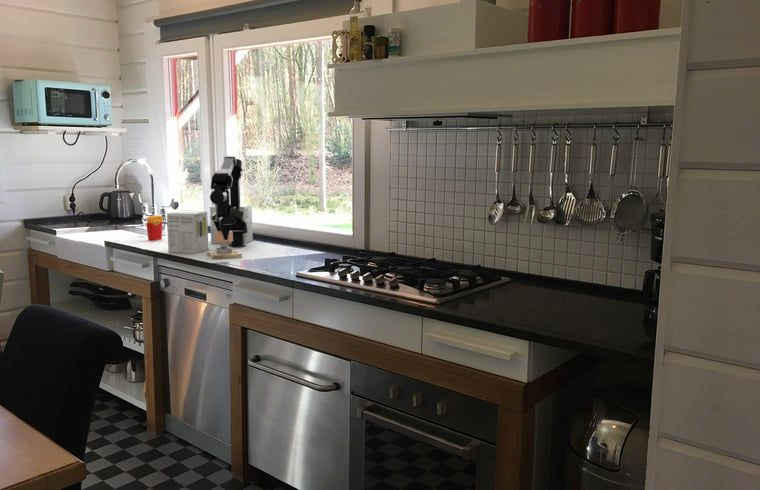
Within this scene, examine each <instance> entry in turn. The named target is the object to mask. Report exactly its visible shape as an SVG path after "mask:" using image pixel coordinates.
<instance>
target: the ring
mask: <svg viewBox="0 0 760 490" xmlns="http://www.w3.org/2000/svg"><path fill="white" fill-rule="evenodd" d="M215 241H216V242H231V241H233V232H232V231H229V235H228V239H227V240H224V237H223V235H222V232H221V231H216V232H215Z"/></svg>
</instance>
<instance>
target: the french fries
mask: <svg viewBox="0 0 760 490" xmlns="http://www.w3.org/2000/svg"><path fill="white" fill-rule="evenodd" d="M163 219H164V218H163V216H161V215H158V214H157V215H151V216H147V217H146V223H145V225H146V232H147V233H146V234H147V239H148V241H151V242H153V241H161V240H162V238H163V237H162V236H163Z"/></svg>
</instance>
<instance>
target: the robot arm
mask: <svg viewBox="0 0 760 490" xmlns="http://www.w3.org/2000/svg"><path fill="white" fill-rule="evenodd" d="M244 170H245V165H244V162H243V161H242V160H241V159H239V158H237V157H236V156H234V155H226V156H223V162H222V164H221V166H220V169H217V170H215V171H214V173H213V174H212V176H211V183H210V189H211V190H213V191H212V192H210V195H209V199H210V202H211V203H212V204H214V205H215V207H216V213H213V214H212V216H211V217H212V220H215V221H213V223H214V225H215V227H216V229H217V231H221V232H222V235H223V237H224V240H227V239H228V235H229V231H230V230H244V231H232V232H233V241H231V244H228V246H229V247H232V248H237V247H246V246H247V245H246V244H244V240H243V233H244V234H245V233H248V230H247V224H246V222H245V221H244V216H243V214H244V212H242V211H240V205H241V191H240V190H241V188H240V185H241V184H240V181H241V177H242V176H243V175H244V174H243V173H244Z"/></svg>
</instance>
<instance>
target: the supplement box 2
mask: <svg viewBox="0 0 760 490" xmlns="http://www.w3.org/2000/svg"><path fill="white" fill-rule="evenodd" d="M252 207H253V205H252V204H240V211H242V212H244V214H243V216H244V221H245V222H246V224H247V230H248V233H245V234H244V233H243V240H244V244H245V245H246V244H247V243H249V242H252V241H253V240H254V236H253V212H252V211H253V208H252ZM213 213H216V207H215V204H214V205H210V206H209V215H210V216H209V217H210V218H209V219H210V243H211V244H221V242H216V241H215V232H216V231H217V229H216V227H215V225H214V223H213V221H215V220H212V217H211V216H212V214H213ZM230 231H244V230H230ZM229 244H231V242H227V245H229Z"/></svg>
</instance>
